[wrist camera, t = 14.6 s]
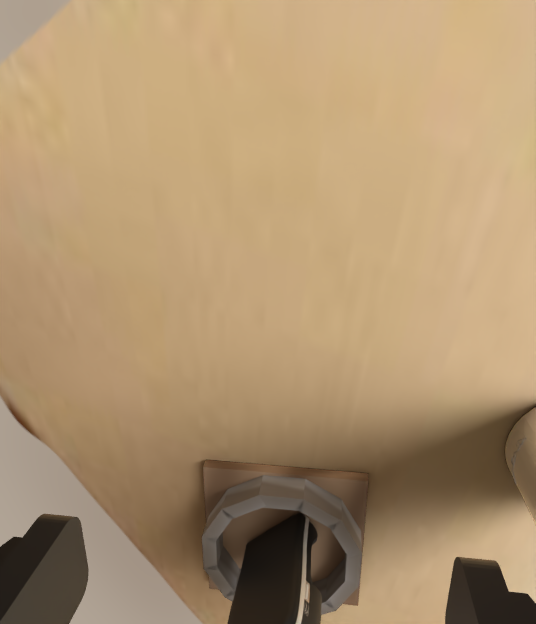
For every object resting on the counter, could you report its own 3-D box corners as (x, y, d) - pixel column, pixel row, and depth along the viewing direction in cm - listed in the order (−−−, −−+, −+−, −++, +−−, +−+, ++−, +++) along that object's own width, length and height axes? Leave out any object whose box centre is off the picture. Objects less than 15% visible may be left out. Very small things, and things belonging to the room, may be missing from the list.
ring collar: (367, 473, 43) (370, 502, 40) (357, 596, 48) (358, 630, 45) (206, 459, 45) (195, 486, 41) (211, 579, 50) (202, 611, 46)
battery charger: (270, 569, 47) (250, 700, 36) (243, 542, 46) (214, 667, 36) (330, 535, 45) (327, 665, 34) (302, 506, 44) (290, 630, 33)
